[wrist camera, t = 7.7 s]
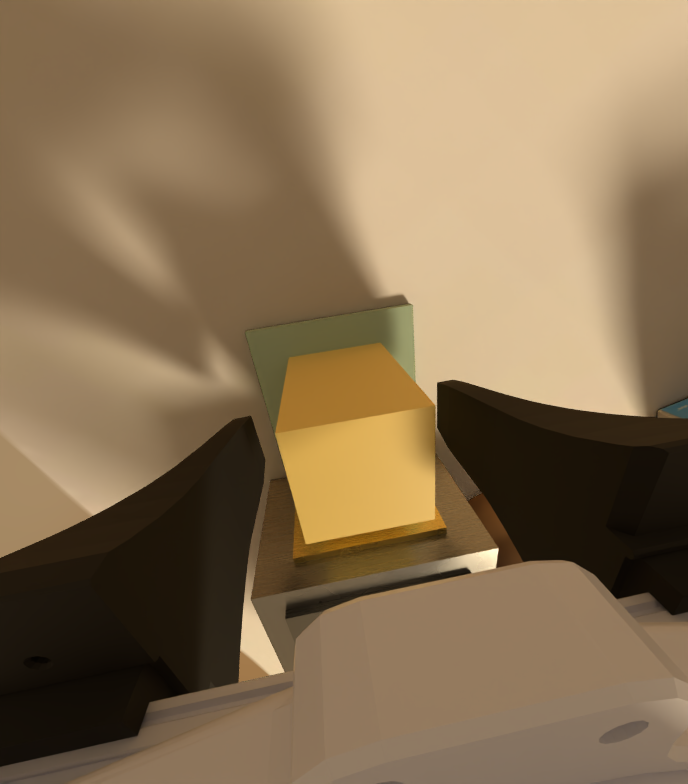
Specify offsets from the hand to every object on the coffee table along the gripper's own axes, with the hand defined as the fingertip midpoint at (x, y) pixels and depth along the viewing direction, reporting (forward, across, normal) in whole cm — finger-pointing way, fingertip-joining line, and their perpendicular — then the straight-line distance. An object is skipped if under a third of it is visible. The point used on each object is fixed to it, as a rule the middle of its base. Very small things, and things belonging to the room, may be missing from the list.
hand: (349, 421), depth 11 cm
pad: (+3, 0, 0) cm, 3 cm away
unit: (+3, 0, +8) cm, 9 cm away
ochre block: (+2, 0, 0) cm, 3 cm away
